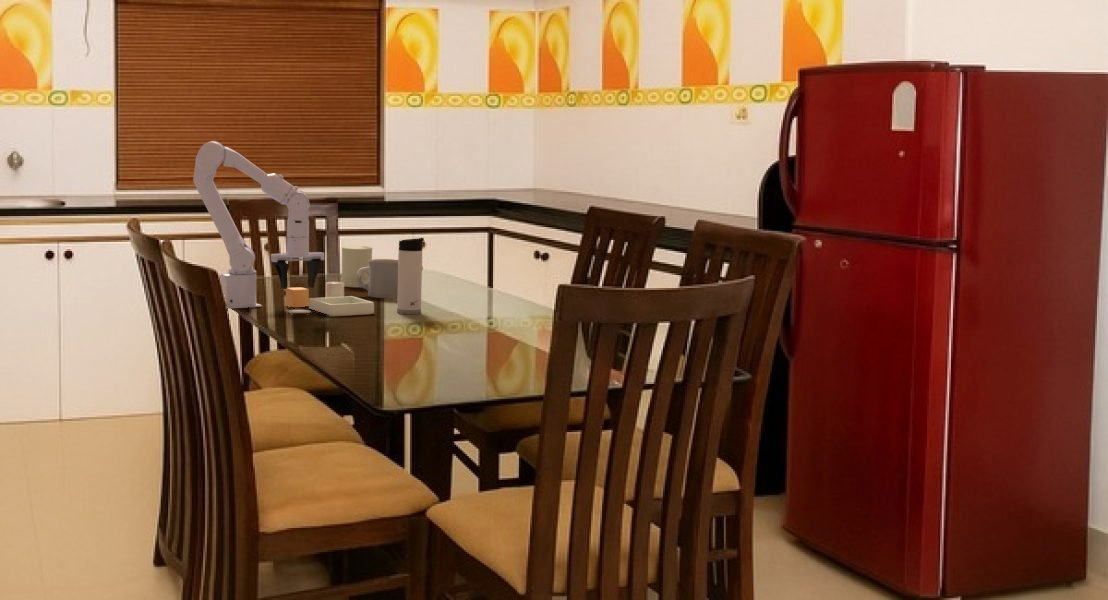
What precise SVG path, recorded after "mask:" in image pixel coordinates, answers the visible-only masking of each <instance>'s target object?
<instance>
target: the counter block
mask: <svg viewBox="0 0 1108 600" xmlns="http://www.w3.org/2000/svg"><path fill="white" fill-rule="evenodd" d="M309 291H310V289H309V288H305V287H300V286H299V287H287V289H285V306H286V305H289V306H292V307H305V306H309V298H310V295H309V294H310V293H309Z"/></svg>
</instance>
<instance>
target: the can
mask: <svg viewBox="0 0 1108 600" xmlns="http://www.w3.org/2000/svg"><path fill="white" fill-rule="evenodd" d="M369 260H373V247H372V246H365V245H343V246H341V281H340V282H343V283H344V288H345V287H347V288H361V287H360V286H359V285H358V283H357V280H356V275H357V272H358V270H359V269H360V268H363V267H369V265H368V261H369ZM367 280H368V274H367V272H364V273H363V274H362V276H361V281H362V282H363V283H366V282H367Z"/></svg>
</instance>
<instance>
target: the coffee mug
mask: <svg viewBox="0 0 1108 600" xmlns="http://www.w3.org/2000/svg"><path fill="white" fill-rule="evenodd" d="M368 265H369V267H363V268H360V269H359V270H358V272H357V275H356V280H357V283H358V285H359V286H360V287H359V288H362V289H364V290H365V291H367V296H368V297H371V298H376V299H377V298H379V299H396V298H397V297H398V259H391V258H386V259H385V258H382V259H381V258H379V259H378V258H377V259H375V258H374V259H373V258H372V260H369V261H368ZM364 272H367V274H368V280H367V282H366V283H363V282H362V281H361V276H362V274H363V273H364Z"/></svg>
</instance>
